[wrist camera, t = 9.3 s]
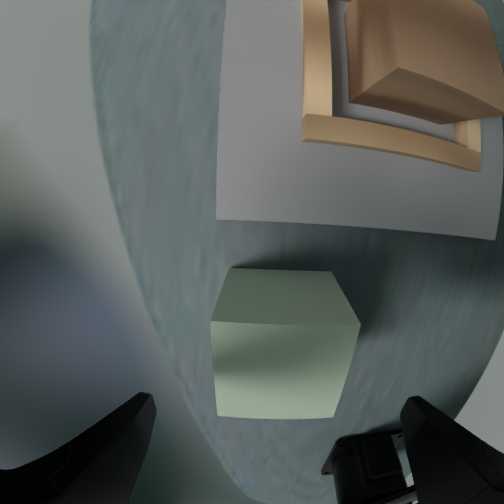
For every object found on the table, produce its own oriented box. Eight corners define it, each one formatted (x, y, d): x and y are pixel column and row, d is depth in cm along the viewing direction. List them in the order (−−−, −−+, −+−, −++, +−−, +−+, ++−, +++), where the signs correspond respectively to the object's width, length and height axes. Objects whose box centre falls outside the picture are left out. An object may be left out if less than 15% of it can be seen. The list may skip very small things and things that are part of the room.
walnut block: (440, 124, 10) (509, 115, 5) (348, 102, 10) (397, 67, 5) (431, 41, 8) (484, 8, 4) (343, 14, 9) (375, -43, 4)
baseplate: (487, 237, 12) (507, 245, 10) (219, 216, 13) (210, 225, 11) (472, 13, 7) (487, 4, 5) (234, -46, 8) (230, -66, 6)
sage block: (317, 351, 15) (332, 417, 10) (230, 349, 15) (217, 415, 10) (330, 271, 13) (360, 324, 8) (229, 267, 13) (210, 320, 9)
